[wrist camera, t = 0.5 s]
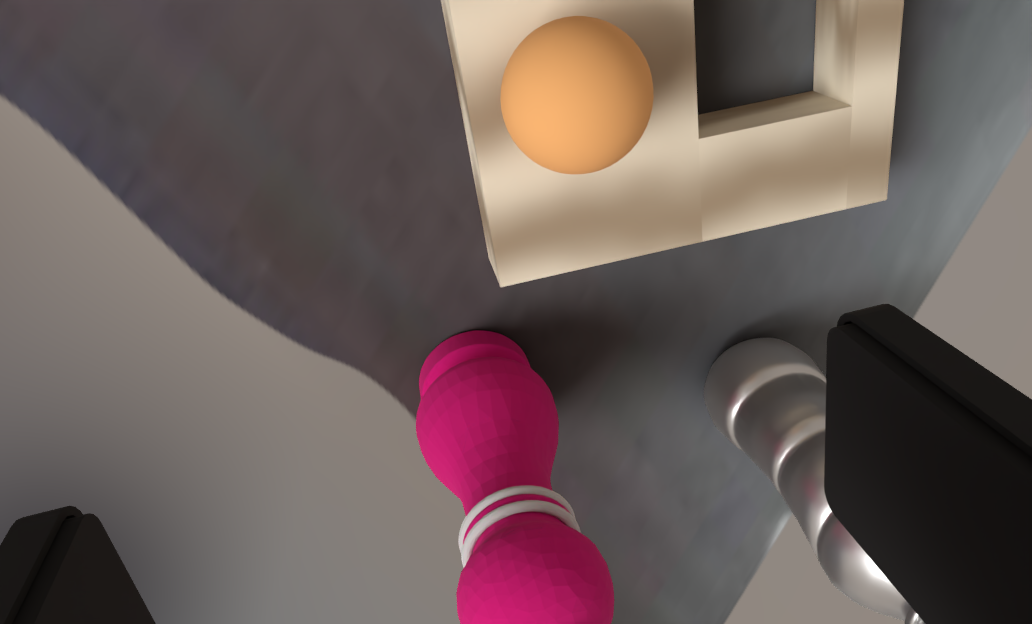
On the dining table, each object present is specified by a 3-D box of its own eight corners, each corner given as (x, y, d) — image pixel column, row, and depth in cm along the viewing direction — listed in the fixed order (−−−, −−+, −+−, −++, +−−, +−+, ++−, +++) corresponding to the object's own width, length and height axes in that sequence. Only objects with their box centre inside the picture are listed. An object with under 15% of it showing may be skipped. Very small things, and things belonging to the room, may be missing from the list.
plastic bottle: (688, 339, 45) (905, 612, 28) (798, 312, 46) (1076, 562, 28) (694, 426, 48) (891, 721, 31) (796, 400, 49) (1045, 674, 31)
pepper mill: (508, 299, 42) (626, 582, 24) (556, 397, 45) (689, 706, 28) (387, 356, 42) (417, 678, 24) (443, 449, 45) (505, 789, 28)
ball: (477, 22, 32) (504, 45, 26) (619, -5, 32) (672, 12, 27) (501, 163, 34) (529, 209, 29) (630, 136, 35) (680, 176, 30)
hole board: (415, -139, 32) (422, -144, 28) (871, -217, 33) (923, -229, 30) (488, 258, 40) (500, 287, 37) (847, 178, 42) (886, 199, 39)
